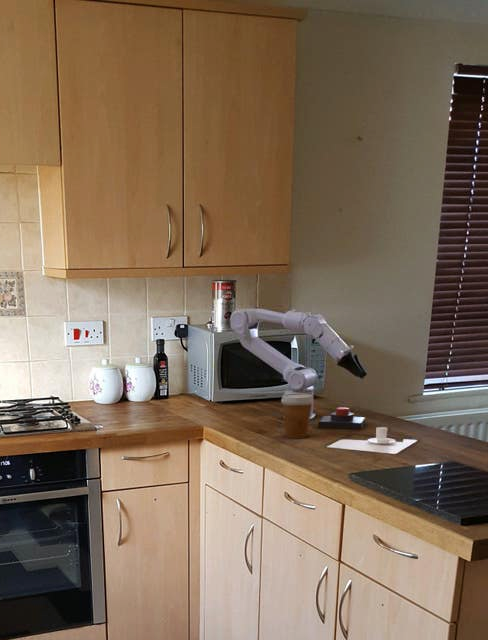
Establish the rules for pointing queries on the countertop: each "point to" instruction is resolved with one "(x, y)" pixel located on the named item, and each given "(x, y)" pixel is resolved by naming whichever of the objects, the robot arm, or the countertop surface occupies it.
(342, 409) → the red push button
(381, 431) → the teacup and saucer
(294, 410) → the disposable coffee cup
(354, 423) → the control block
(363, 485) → the countertop surface
